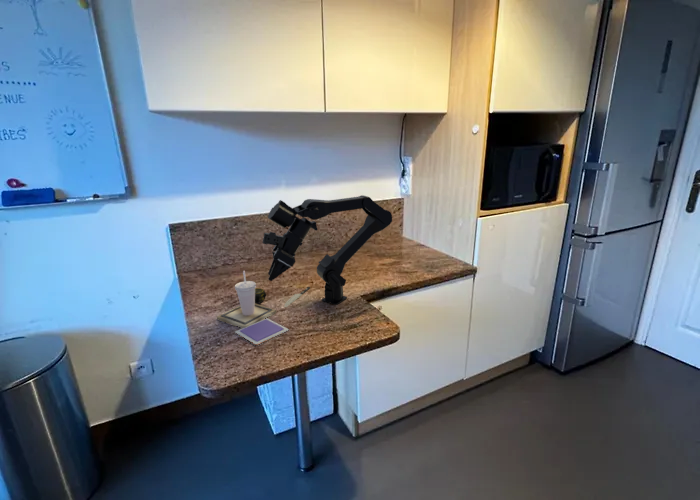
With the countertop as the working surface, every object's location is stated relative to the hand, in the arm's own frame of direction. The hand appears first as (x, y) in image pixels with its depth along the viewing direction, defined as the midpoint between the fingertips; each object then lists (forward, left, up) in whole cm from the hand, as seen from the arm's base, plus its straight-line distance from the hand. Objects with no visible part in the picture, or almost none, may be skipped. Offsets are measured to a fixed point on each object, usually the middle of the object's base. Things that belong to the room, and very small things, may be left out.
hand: (269, 277), depth 115 cm
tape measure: (-4, -12, -13) cm, 18 cm away
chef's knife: (-13, -2, -13) cm, 19 cm away
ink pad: (+11, +6, -12) cm, 17 cm away
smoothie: (+5, -5, -11) cm, 14 cm away
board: (+6, -6, -12) cm, 15 cm away
